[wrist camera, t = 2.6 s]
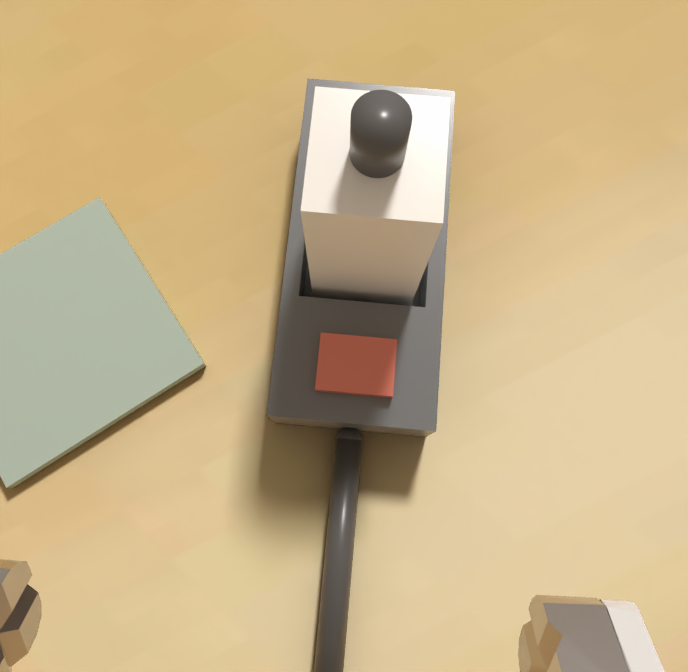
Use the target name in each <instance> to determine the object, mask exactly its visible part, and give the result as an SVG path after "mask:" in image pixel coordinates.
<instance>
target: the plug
mask: <svg viewBox="0 0 688 672" xmlns="http://www.w3.org/2000/svg"><path fill="white" fill-rule="evenodd" d="M449 115H450V98H447V97H436V96H424V95H412V94H400V93H395V92H392V91H389V90H373V91H365V90H353V89H341V88H330V87H318V86H315V92H314V101H313V109H312V118H311V126H310V135H309V143H308V152H307V160H306V169H305V177H304V186H303V194H302V203H301V218H302V225H303V232H304V239H305V246H306V253H307V260H308V267H309V274H310V280H311V287H312V294H313V297H316V298H327V299H338V300H349V301H361V302H372V303H383V304H394V305H405V306H411V303H412V301H413V298H414V296H415V293H416V291H417V288H418V286H419V283H420V281H421V278H422V276H423V273H424V271H425V268H426V266H427V263H428V260H429V258H430V255H431V253H432V250H433V248H434V245H435V243H436V240H437V238H438V235H439V233H440V230H441V228H442V225H443V219H444V202H445V184H446V167H447V150H448V132H449Z"/></svg>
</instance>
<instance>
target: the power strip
mask: <svg viewBox="0 0 688 672" xmlns="http://www.w3.org/2000/svg"><path fill="white" fill-rule="evenodd" d="M315 86H318V87H330V88H341V89H353V90H365V91H373V90H389V91H392V92H395V93H400V94H412V95H424V96H436V97H447V98H450V115H449V132H448V150H447V167H446V184H445V202H444V219H443V225H442V228H441V230H440V233H439V235H438V238H437V240H436V243H435V245H434V248H433V250H432V253H431V255H430V258H429V260H428V263H427V266H426V268H425V271H424V273H423V276H422V278H421V281H420V283H419V286H418V288H417V291H416V293H415V296H414V298H413V301H412V303H411V306H405V305H394V304H383V303H372V302H361V301H349V300H338V299H327V298H316V297H313V294H312V287H311V280H310V274H309V267H308V260H307V253H306V246H305V239H304V232H303V225H302V218H301V203H302V194H303V186H304V177H305V169H306V160H307V152H308V143H309V135H310V126H311V118H312V109H313V101H314V92H315ZM454 101H455V91H448V90H436V89H425V88H413V87H401V86H389V85H378V84H366V83H354V82H342V81H330V80H319V79H307V88H306V96H305V104H304V112H303V120H302V129H301V137H300V145H299V153H298V162H297V170H296V178H295V186H294V194H293V203H292V211H291V219H290V227H289V235H288V244H287V252H286V260H285V268H284V277H283V285H282V293H281V301H280V309H279V318H278V326H277V334H276V342H275V350H274V359H273V367H272V375H271V383H270V391H269V400H268V408H267V416H268V417H269V418H270V419H271V420H272V421H273V422H274V423H284V424H294V425H305V426H316V427H326V428H337V429H340V430H339V432H338V433H337V435H336V442H335V452H334V463H333V474H332V484H331V495H330V505H329V516H328V527H327V537H326V548H325V559H324V569H323V580H322V590H321V601H320V612H319V622H318V633H317V643H316V654H315V665H314V672H343V667H344V656H345V644H346V632H347V620H348V608H349V596H350V584H351V572H352V560H353V548H354V536H355V524H356V512H357V501H358V489H359V477H360V465H361V453H362V435H361V433H360V431H369V432H380V433H391V434H401V435H412V436H423V437H427V436H428V435H430V434H432V433H434V432H436V423H437V405H438V387H439V369H440V351H441V333H442V315H443V298H444V280H445V262H446V244H447V226H448V208H449V190H450V172H451V155H452V137H453V119H454Z"/></svg>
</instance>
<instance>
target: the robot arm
mask: <svg viewBox="0 0 688 672" xmlns="http://www.w3.org/2000/svg"><path fill="white" fill-rule="evenodd" d="M31 576H32V573H31V570H30V568H29V566H28V563H27V561H15V560H3V559H0V672H12V669H11V666H12V665H14V664H15V663H16V662H17V661H19V660H20V659H21V658H23V657H24V656H25V655H26V654H28V652H29V650H30V648H31V646H32V644H33V642H34V639H35V637H36V635H37V631H38V627H39V623H40V619H41V600H40V597H39V593H38V592H37V591H36V590H34V589H33V588H32V587H30V586H29V585H28V582H29V580H30V578H31ZM529 612H530V616H531V621H529V622H528V623H526V624H525V625H523V627H522V631H521V634H520V638H519V653H518V657H519V667H520V672H665V670H664V668H663V666H662V663H661V661H660V659H659V656H658V654H657V651H656V649H655V647H654V644H653V642H652V640H651V637H650V635H649V632H648V630H647V628H646V625H645V623H644V621H643V618H642V616H641V613H640V611H639V609H638V607H637V606H636V605H635V604H634V603H633V602H631V601H624V600H601V599H597V598H586V597H567V596H547V595H536V596H535V597H534V598H532V601H531V603H530V606H529Z"/></svg>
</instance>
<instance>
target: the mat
mask: <svg viewBox="0 0 688 672" xmlns="http://www.w3.org/2000/svg"><path fill="white" fill-rule="evenodd" d="M205 366H206V365H205V363H204V362H203V360H202V359H201V357H200V355H199V354H198V352H197V351H196V349H195V347H194V346H193V344H192V343H191V341H190V339H189V338H188V336H187V335H186V333H185V331H184V330H183V328H182V327H181V325H180V323H179V322H178V320H177V319H176V317H175V315H174V314H173V312H172V311H171V309H170V307H169V306H168V304H167V303H166V301H165V299H164V298H163V296H162V295H161V293H160V291H159V290H158V288H157V287H156V285H155V283H154V282H153V280H152V279H151V277H150V275H149V274H148V272H147V271H146V269H145V267H144V266H143V264H142V263H141V261H140V259H139V258H138V256H137V255H136V253H135V251H134V250H133V248H132V247H131V245H130V243H129V242H128V240H127V239H126V237H125V235H124V234H123V232H122V231H121V229H120V227H119V226H118V224H117V223H116V221H115V219H114V218H113V216H112V215H111V213H110V211H109V210H108V208H107V207H106V205H105V203H104V202H103V201H102V200H101V198H100V197H99V198H97V199H96V200H94V201H92V202H90V203H89V204H87V205H85V206H83V207H82V208H80V209H78V210H76V211H75V212H73V213H71V214H69V215H68V216H66V217H64V218H62V219H61V220H59V221H57V222H55V223H54V224H52V225H50V226H48V227H47V228H45V229H43V230H41V231H40V232H38V233H36V234H34V235H33V236H31V237H29V238H27V239H26V240H24V241H22V242H20V243H19V244H17V245H15V246H13V247H12V248H10V249H8V250H7V251H5V252H3V253H1V254H0V477H1V479H2V480H3V482H4V484H5V486H6V488H14V487H15V486H17V485H19V484H20V483H22V482H23V481H25V480H27V479H28V478H30V477H31V476H33V475H34V474H36V473H38V472H39V471H41V470H42V469H44V468H46V467H47V466H49V465H50V464H52V463H53V462H55V461H57V460H58V459H60V458H61V457H63V456H64V455H66V454H68V453H69V452H71V451H72V450H74V449H76V448H77V447H79V446H80V445H82V444H83V443H85V442H87V441H88V440H90V439H91V438H93V437H95V436H96V435H98V434H99V433H101V432H102V431H104V430H106V429H107V428H109V427H110V426H112V425H114V424H115V423H117V422H118V421H120V420H121V419H123V418H125V417H126V416H128V415H129V414H131V413H133V412H134V411H136V410H137V409H139V408H140V407H142V406H144V405H145V404H147V403H148V402H150V401H152V400H153V399H155V398H156V397H158V396H159V395H161V394H163V393H164V392H166V391H167V390H169V389H170V388H172V387H174V386H175V385H177V384H178V383H180V382H182V381H183V380H185V379H186V378H188V377H189V376H191V375H193V374H194V373H196V372H197V371H199V370H201V369H202V368H204V367H205Z"/></svg>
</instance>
